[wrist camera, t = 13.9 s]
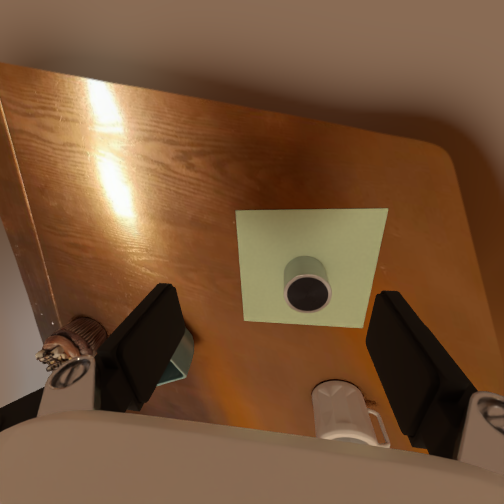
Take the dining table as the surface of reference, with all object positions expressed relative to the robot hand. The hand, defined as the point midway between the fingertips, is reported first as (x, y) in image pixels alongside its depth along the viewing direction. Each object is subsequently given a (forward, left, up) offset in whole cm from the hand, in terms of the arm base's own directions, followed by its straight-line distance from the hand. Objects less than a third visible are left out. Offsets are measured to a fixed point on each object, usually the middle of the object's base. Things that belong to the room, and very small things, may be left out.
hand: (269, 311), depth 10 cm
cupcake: (+29, -44, -25) cm, 58 cm away
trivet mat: (+12, +4, -24) cm, 27 cm away
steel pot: (+12, +4, -24) cm, 27 cm away
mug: (+43, +14, -25) cm, 51 cm away
